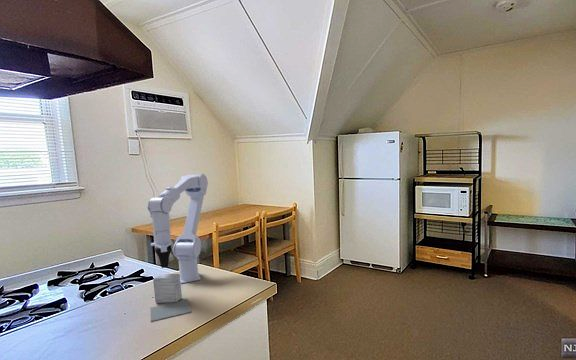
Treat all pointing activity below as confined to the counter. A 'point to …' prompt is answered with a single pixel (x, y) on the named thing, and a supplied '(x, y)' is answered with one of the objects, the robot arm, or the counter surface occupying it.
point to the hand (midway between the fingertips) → (164, 266)
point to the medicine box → (167, 288)
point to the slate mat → (170, 310)
